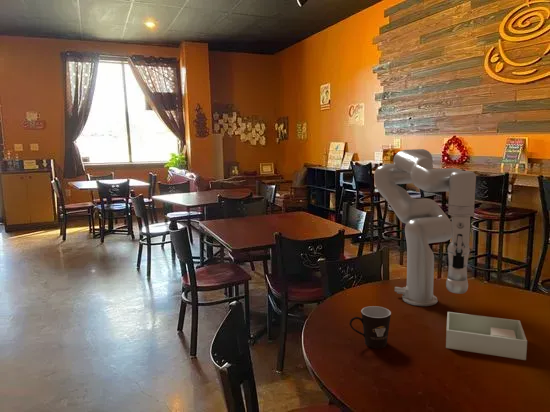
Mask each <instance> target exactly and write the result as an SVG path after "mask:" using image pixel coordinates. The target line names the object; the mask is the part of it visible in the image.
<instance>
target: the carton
mask: <svg viewBox="0 0 550 412" xmlns="http://www.w3.org/2000/svg"><path fill="white" fill-rule="evenodd" d="M490 335H492V336H499V337H506V338H513V339H516V336H515V332H514V330H508V329H500V328H492V327H491V331H490Z"/></svg>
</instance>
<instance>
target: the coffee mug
mask: <svg viewBox="0 0 550 412" xmlns="http://www.w3.org/2000/svg"><path fill="white" fill-rule="evenodd" d="M360 312H361V317H359V316H354V317H352V318H351V319H350V320H349V326H350V328H351V329H352V330H353V332H355V333H357V334H359V335H361V336H363V338H364V344H365V346H367V347H369V348H371V349H383V348H386V347H387V345H388V340H389V339H388V337H389V331H390V323H391V316H392V311H391V310H389V309H388V308H386V307H383V306H378V305H377V306H376V305H375V306H374V305H372V306H370V305H369V306H365V307H363V308H362V309H361V310H360ZM355 320H359V321H360V322H361V324H362V328H363V330H362V331H363V332H361V331H359V330H357V329H356V328H354V326H353V325H352V323H353V322H354V321H355Z"/></svg>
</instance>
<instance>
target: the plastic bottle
mask: <svg viewBox="0 0 550 412" xmlns="http://www.w3.org/2000/svg"><path fill="white" fill-rule="evenodd" d="M457 239H458V234H457ZM456 246H457V244H456ZM462 246H463V245H462ZM456 249H457V248H456ZM470 253H471V250H470V246H469V247H468V248H467V247H465V246H464V255H463V256H464V268H463V269H461V268H453V255H454V246H452V241H451V242H450V243H449V244H448V246H447V257H448V271H447V278H446V281H445V287H446V289H447V291H448V292H449V293H452V294H459V295H460V294H461V295H462V294H463V295H464V294H465V293H466V292H467V291H468V288H469V283H468V282H469V281H468V261H469V256H470Z"/></svg>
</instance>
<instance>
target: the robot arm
mask: <svg viewBox="0 0 550 412" xmlns="http://www.w3.org/2000/svg"><path fill="white" fill-rule="evenodd" d="M433 167H434V164H433V155H432V154H431V152H430V151H429V150H428V149H423V148H422V149H421V148H418V149H416V148H414V149H403V150H400V151H398V152H396V154H395V155H394V156H393V163H387V164H382V165H380V166H378V167H377V168H376V169H375V170H374V174H373V179H374V184H375V187H376V190H377V191H378V193H379V194H380V195H381V197H382V198H383V199H384V200H385V201H386V202H387V203H388V204H389V206H390V207H391V209H392V211H393V212H394V213H395V215H396V217H397V218H398V220H399V221H400V222H401V223H403V224H405V227H404V233H405V234H404V235H405V239H406V241H405V242H406V259H407V260H406V285H405V286H403V287H400V286H394V292H395V293H396V294H399V295H401V298H402V301H403V302H405V303H406V304H408V305H411V306H418V307H431V306H434V305H436V304H437V303H438V297H437V296H436V295H434V275H435V273H434V272H435V270H434V269H435V256H434V255H435V254H434V252H433V250H432V248H431V247H430V245H429V244H435V243H442V242H443V243H445V242H447V241H449V240H451V242H452V246H454V255H453V268H461V269H463V268H464V256H463V255H464V246H465V247H467V248H468V247H469V248H470V235H471V234H470V233H471V232H470V231H471V217H474V215H475V202H476V201H475V199H476V185H477V184H476V183H477V175H476V173H475V172H474V171H470V170H462V169H459V168H433ZM402 184H403V185H405V184H406V185H407V184H412V185H414V186H415V187H416V188H418V189H419V190H422V191H424V192H428V193H439V192H440V193H441V192H448V204H447V214H446V213H445V212H444V211H443V209H442V208H441V207H440V205H439V204H438V202H437V201H435V200H434V199H431V198H424V197H423V198H413V197H412V196H411V195H410V194H409V192H408V191H407V190H406V189H405V188H404V187H402V186H400V185H402ZM448 215H449V216H450V217H451V220H450V218H449V216H448ZM457 234H458V239H457ZM456 244H457V246H456ZM462 245H463V246H462ZM456 248H457V249H456Z"/></svg>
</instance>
